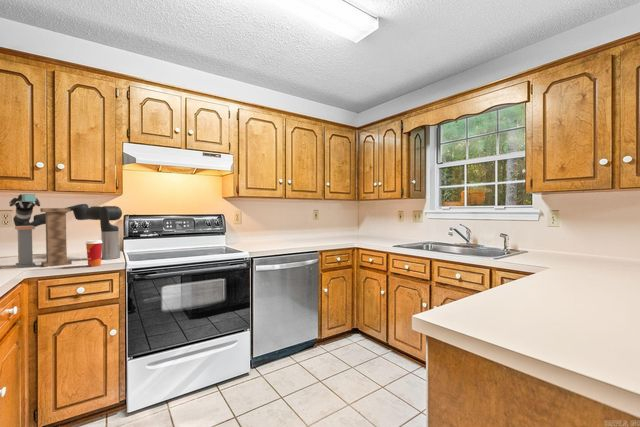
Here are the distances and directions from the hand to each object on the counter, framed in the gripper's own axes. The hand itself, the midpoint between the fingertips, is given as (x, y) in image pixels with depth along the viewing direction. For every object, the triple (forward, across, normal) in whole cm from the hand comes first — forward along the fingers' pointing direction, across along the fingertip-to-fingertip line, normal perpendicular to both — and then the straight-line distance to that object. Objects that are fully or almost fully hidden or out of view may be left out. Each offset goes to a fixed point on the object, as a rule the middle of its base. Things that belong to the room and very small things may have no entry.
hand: (26, 195), depth 182 cm
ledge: (-12, -2, +38) cm, 40 cm away
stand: (-4, +10, +43) cm, 45 cm away
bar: (+4, 0, +6) cm, 7 cm away
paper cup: (+14, +24, +54) cm, 60 cm away
